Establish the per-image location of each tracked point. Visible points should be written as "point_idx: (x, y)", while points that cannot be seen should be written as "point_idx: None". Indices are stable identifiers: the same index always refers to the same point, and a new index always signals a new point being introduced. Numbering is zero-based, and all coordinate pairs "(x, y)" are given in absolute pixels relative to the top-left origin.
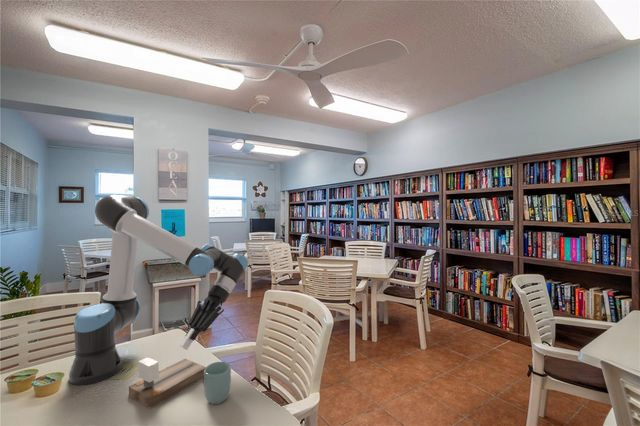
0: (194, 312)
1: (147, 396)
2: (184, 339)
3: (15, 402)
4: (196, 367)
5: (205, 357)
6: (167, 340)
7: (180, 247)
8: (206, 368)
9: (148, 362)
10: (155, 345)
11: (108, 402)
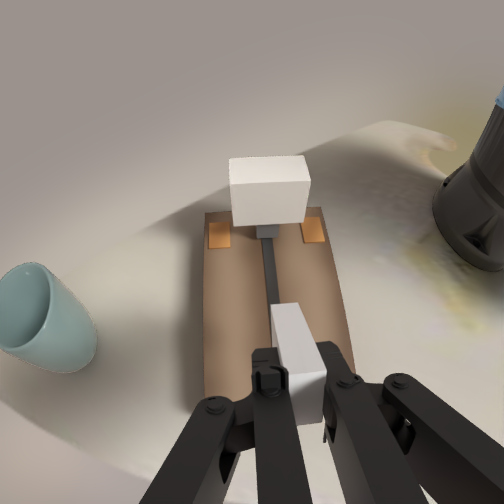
0: (492, 449)
1: (222, 213)
2: (297, 321)
3: (432, 136)
4: (243, 397)
5: None
6: None
7: None
8: (49, 285)
9: (261, 167)
10: None
11: (324, 192)
